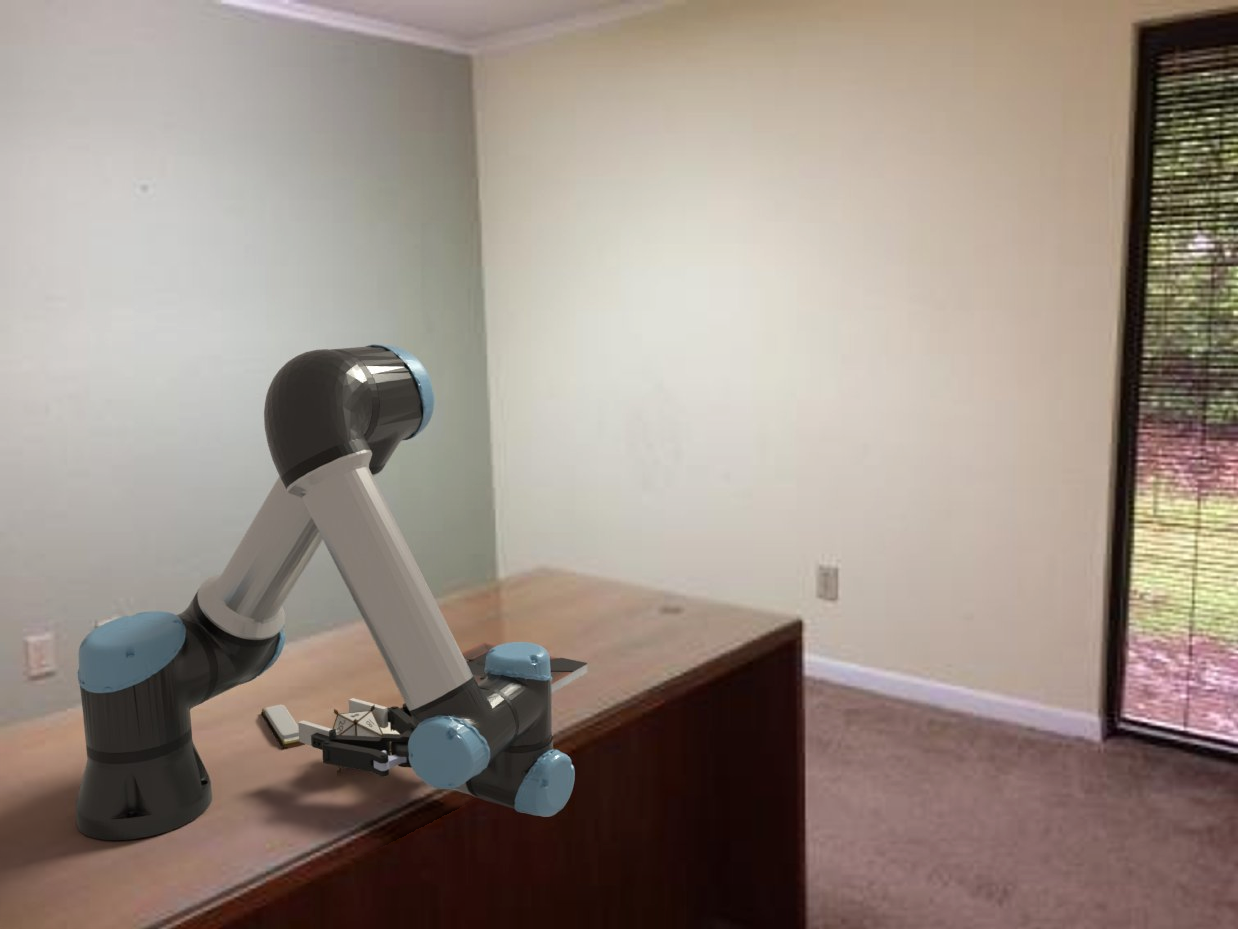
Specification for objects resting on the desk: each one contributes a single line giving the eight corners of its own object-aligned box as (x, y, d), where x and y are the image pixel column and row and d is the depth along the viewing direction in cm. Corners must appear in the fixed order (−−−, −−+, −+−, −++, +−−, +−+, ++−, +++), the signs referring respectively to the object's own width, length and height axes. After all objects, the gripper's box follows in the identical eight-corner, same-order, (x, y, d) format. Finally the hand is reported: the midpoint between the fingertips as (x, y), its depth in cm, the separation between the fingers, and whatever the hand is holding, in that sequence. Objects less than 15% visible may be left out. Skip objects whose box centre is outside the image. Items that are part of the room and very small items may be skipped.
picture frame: (587, 676, 172) (484, 655, 183) (587, 662, 172) (484, 641, 183) (530, 710, 158) (422, 685, 169) (529, 695, 158) (421, 670, 169)
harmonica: (261, 716, 156) (260, 704, 156) (282, 712, 158) (281, 700, 157) (283, 752, 144) (282, 739, 143) (305, 747, 145) (304, 734, 145)
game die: (365, 799, 137) (364, 761, 130) (310, 771, 138) (306, 732, 131) (401, 745, 143) (402, 706, 136) (348, 719, 144) (346, 679, 137)
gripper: (398, 822, 118) (264, 776, 130) (510, 754, 136) (383, 718, 148) (396, 761, 117) (261, 719, 129) (509, 700, 135) (381, 668, 147)
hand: (326, 719), depth 138 cm, fingers closed on game die, 8 cm apart
